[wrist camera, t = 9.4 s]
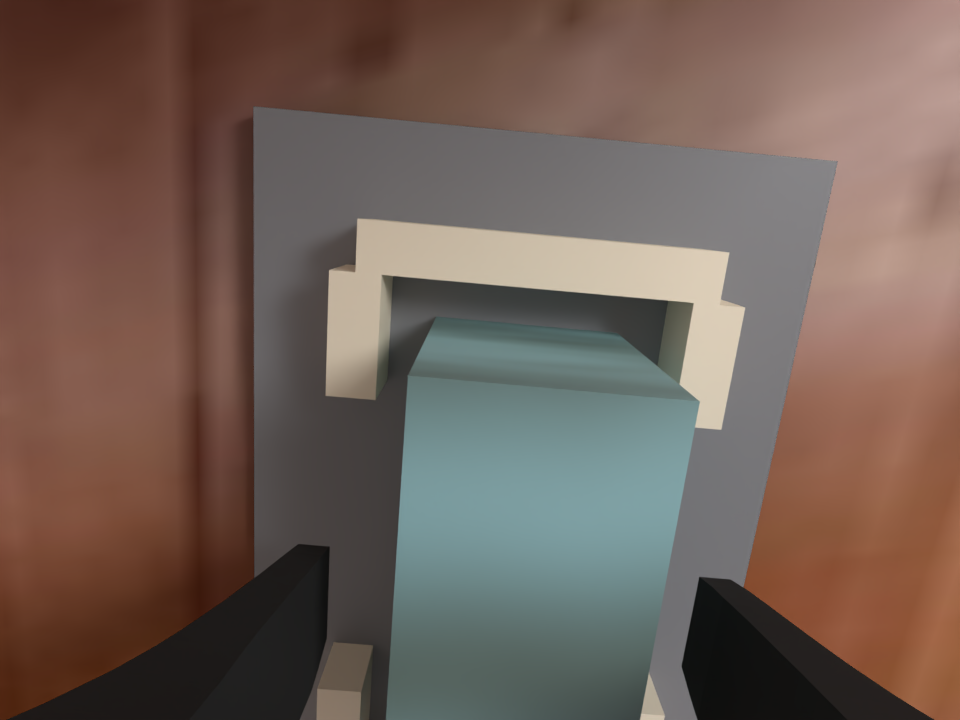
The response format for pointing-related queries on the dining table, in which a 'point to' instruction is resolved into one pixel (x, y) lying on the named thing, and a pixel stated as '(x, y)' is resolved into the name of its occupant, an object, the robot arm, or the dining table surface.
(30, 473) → the dining table surface
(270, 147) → the jig
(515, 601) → the teal block
